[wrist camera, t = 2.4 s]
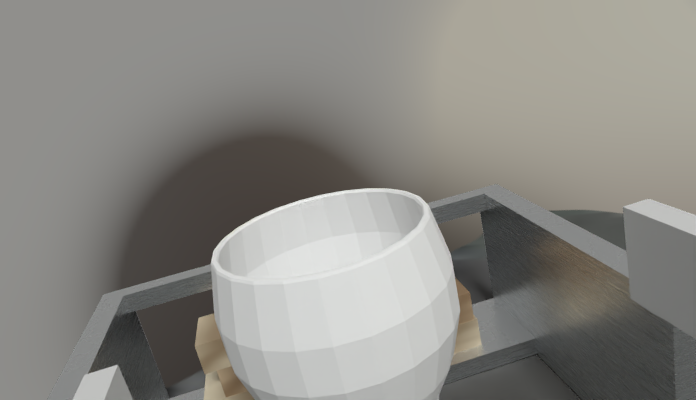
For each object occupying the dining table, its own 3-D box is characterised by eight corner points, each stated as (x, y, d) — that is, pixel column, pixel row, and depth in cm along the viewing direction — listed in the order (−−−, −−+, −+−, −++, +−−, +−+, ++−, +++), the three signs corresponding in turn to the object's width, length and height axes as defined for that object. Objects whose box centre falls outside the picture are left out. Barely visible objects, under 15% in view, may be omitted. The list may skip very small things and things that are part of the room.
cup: (245, 520, 28) (151, 263, 23) (375, 397, 35) (322, 179, 30) (406, 655, 20) (314, 316, 16) (531, 464, 27) (492, 189, 23)
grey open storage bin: (86, 722, 21) (-24, 531, 18) (153, 418, 38) (103, 294, 35) (708, 486, 24) (706, 292, 21) (513, 306, 41) (496, 183, 38)
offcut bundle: (212, 431, 33) (182, 349, 31) (214, 396, 37) (187, 321, 35) (481, 344, 36) (468, 264, 34) (460, 319, 39) (447, 244, 37)
